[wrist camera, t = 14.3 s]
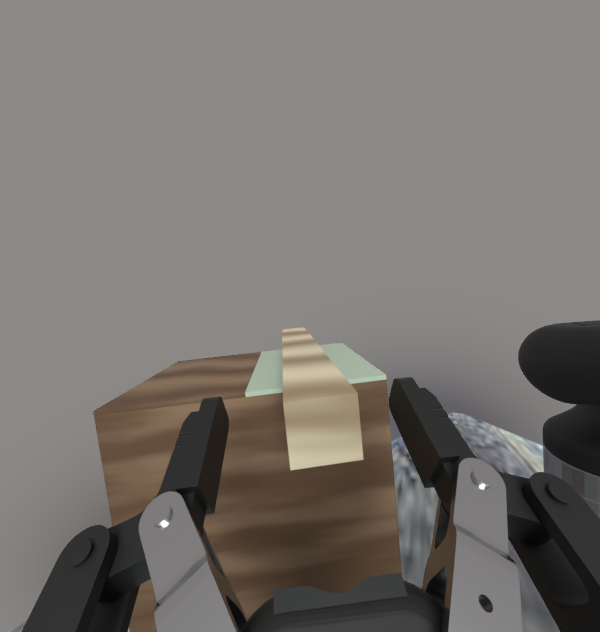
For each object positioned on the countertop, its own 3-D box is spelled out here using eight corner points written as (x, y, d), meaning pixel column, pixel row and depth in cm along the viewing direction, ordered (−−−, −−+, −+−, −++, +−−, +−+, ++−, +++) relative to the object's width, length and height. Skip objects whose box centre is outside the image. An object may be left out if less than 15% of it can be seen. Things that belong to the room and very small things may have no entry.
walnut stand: (411, 703, 23) (386, 374, 21) (151, 759, 22) (93, 411, 20) (359, 540, 39) (341, 342, 37) (206, 565, 38) (178, 361, 36)
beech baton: (363, 459, 11) (357, 392, 11) (290, 470, 11) (282, 402, 10) (305, 347, 37) (303, 327, 36) (284, 349, 36) (282, 329, 36)
